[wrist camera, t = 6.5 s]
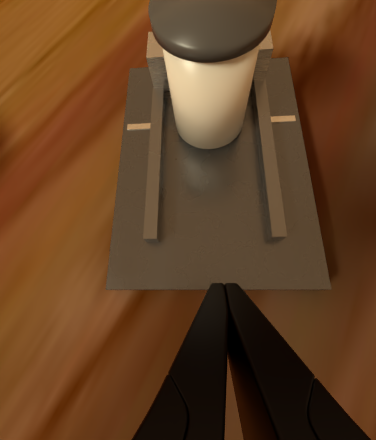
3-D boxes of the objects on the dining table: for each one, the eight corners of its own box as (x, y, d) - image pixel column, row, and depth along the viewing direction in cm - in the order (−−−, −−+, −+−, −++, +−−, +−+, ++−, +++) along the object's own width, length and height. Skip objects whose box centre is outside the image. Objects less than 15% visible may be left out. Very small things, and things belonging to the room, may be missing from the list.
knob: (250, 151, 19) (284, 41, 11) (170, 154, 20) (144, 51, 11) (244, 89, 21) (269, -43, 13) (172, 93, 22) (151, -31, 14)
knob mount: (321, 289, 17) (371, 287, 12) (113, 289, 18) (76, 287, 13) (283, 71, 24) (304, 9, 19) (134, 81, 25) (115, 25, 20)
